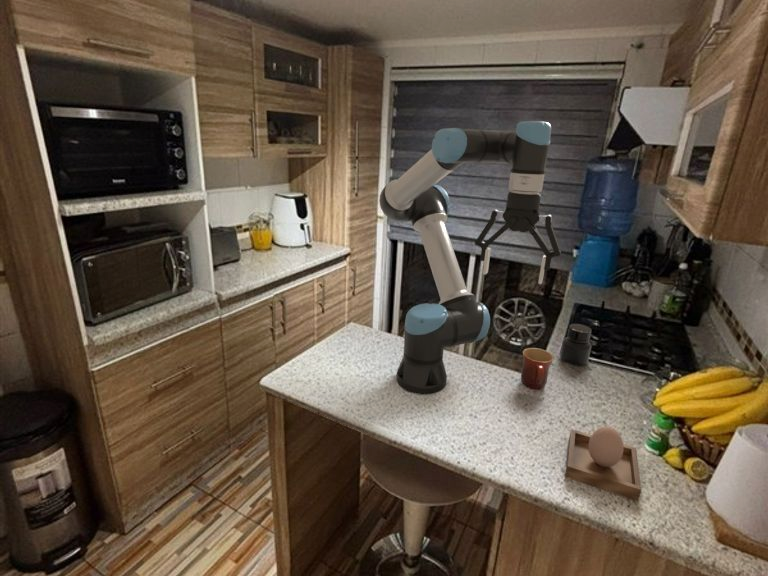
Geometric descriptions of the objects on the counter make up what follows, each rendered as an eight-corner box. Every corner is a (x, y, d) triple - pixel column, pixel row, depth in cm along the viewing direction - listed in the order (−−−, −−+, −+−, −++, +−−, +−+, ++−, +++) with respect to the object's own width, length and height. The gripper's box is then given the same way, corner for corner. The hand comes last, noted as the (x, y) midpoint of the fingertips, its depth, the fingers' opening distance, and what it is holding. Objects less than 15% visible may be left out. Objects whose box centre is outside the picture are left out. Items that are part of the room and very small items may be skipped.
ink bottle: (592, 360, 142) (600, 328, 138) (583, 369, 136) (591, 336, 132) (564, 350, 148) (570, 319, 144) (554, 359, 142) (560, 327, 138)
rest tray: (565, 476, 92) (567, 466, 91) (568, 439, 103) (571, 429, 102) (637, 501, 86) (641, 490, 85) (633, 458, 98) (636, 447, 97)
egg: (622, 464, 94) (632, 428, 91) (612, 479, 90) (622, 443, 87) (591, 448, 99) (600, 414, 96) (580, 462, 94) (588, 427, 91)
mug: (516, 375, 131) (521, 346, 128) (545, 379, 130) (551, 349, 126) (520, 396, 120) (525, 365, 117) (552, 401, 119) (558, 369, 115)
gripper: (468, 189, 100) (459, 273, 107) (581, 198, 90) (564, 290, 97) (476, 186, 106) (467, 266, 113) (582, 195, 96) (566, 282, 103)
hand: (512, 277), depth 105 cm, fingers open, 13 cm apart
